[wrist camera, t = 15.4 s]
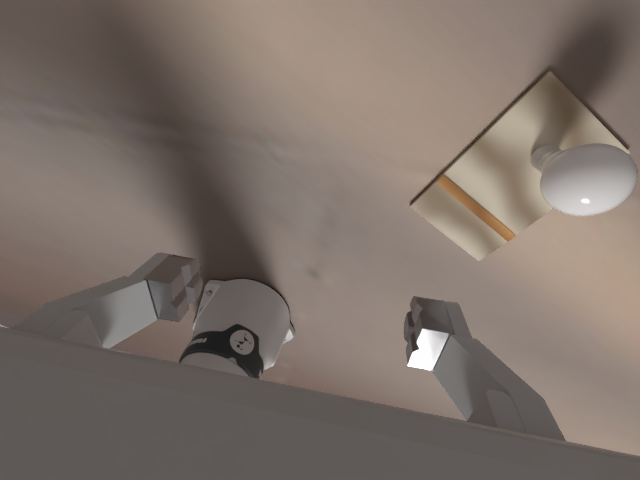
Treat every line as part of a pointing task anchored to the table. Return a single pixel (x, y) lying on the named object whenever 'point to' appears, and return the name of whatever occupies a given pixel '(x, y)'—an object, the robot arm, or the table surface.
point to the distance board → (508, 169)
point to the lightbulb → (585, 177)
